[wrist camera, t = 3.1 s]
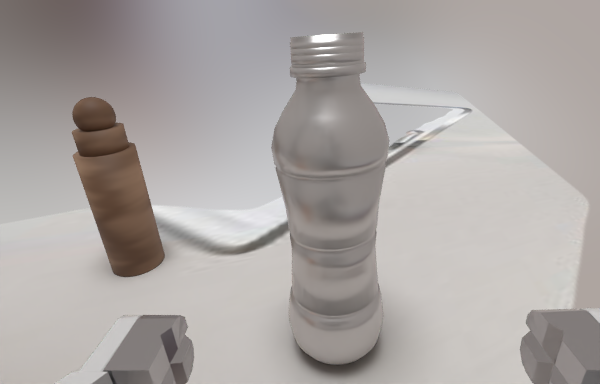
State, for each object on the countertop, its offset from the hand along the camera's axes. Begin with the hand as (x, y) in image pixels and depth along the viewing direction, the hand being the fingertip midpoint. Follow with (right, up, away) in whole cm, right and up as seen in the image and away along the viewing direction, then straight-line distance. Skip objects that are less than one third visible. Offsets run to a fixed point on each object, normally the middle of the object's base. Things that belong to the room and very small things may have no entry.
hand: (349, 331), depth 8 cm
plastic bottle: (+1, -7, +17) cm, 18 cm away
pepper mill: (-18, -4, +27) cm, 33 cm away
